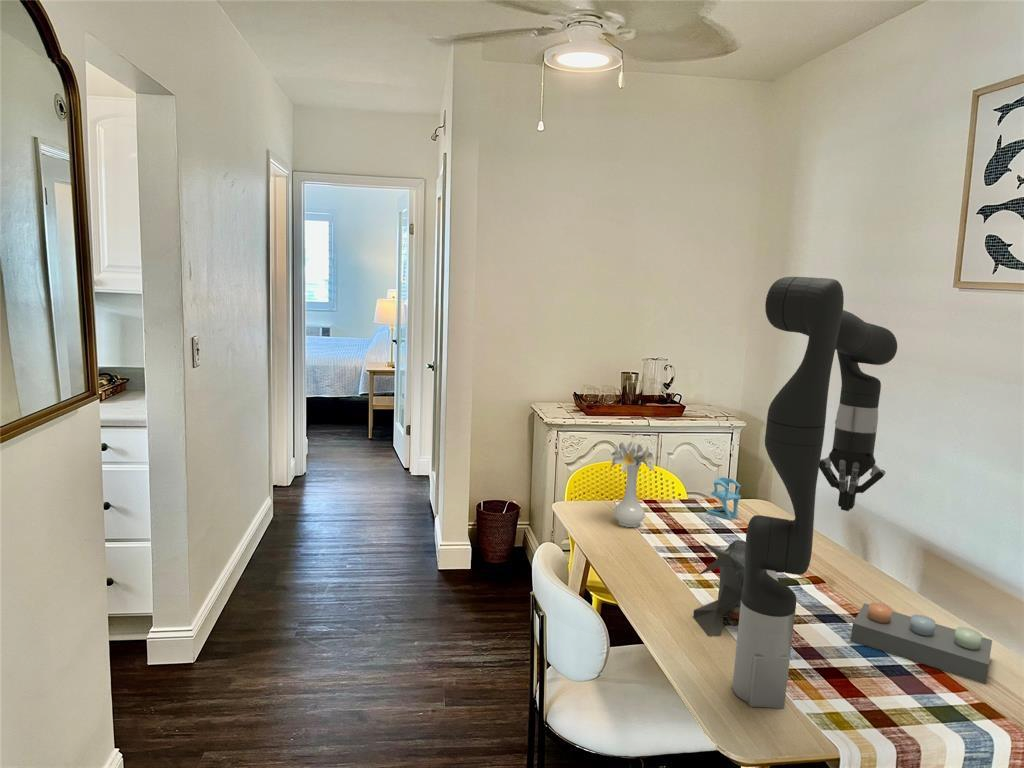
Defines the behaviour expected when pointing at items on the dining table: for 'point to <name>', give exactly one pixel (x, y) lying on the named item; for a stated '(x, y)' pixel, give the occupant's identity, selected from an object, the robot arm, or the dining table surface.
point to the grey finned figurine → (724, 588)
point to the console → (922, 645)
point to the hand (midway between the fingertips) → (845, 509)
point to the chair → (725, 498)
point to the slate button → (922, 625)
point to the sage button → (967, 638)
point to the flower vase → (631, 482)
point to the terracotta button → (879, 612)
